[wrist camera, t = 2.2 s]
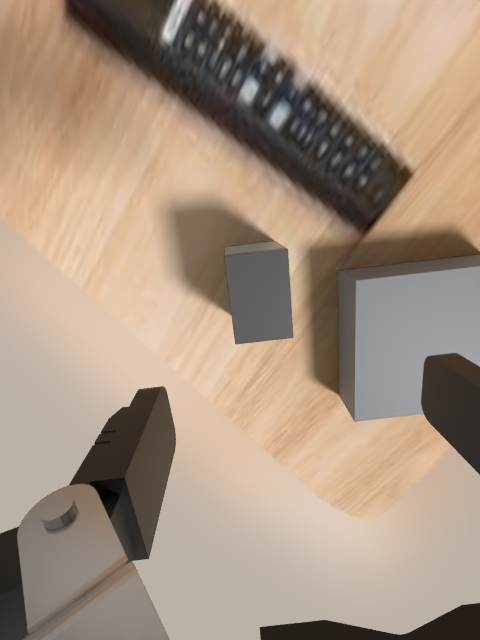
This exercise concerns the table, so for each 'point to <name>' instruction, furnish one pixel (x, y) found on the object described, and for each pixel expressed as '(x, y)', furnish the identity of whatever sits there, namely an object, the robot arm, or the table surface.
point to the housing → (259, 291)
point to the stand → (403, 330)
